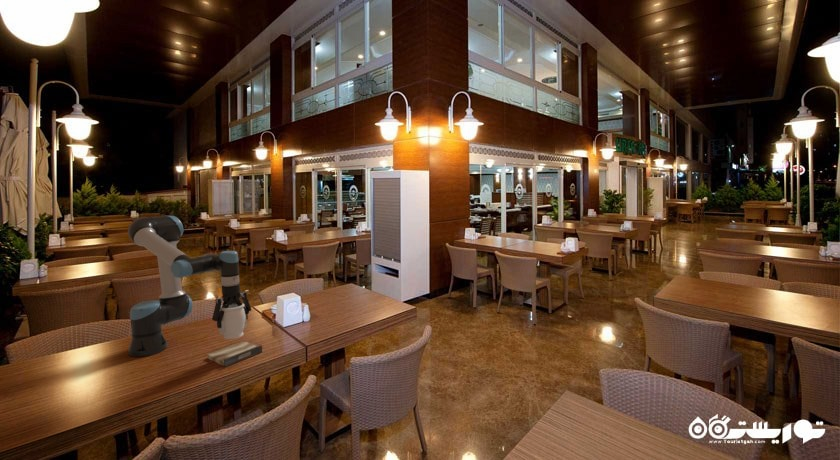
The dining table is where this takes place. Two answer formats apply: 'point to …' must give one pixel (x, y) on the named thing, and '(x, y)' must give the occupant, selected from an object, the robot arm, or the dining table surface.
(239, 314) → the jar
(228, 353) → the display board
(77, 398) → the dining table surface
